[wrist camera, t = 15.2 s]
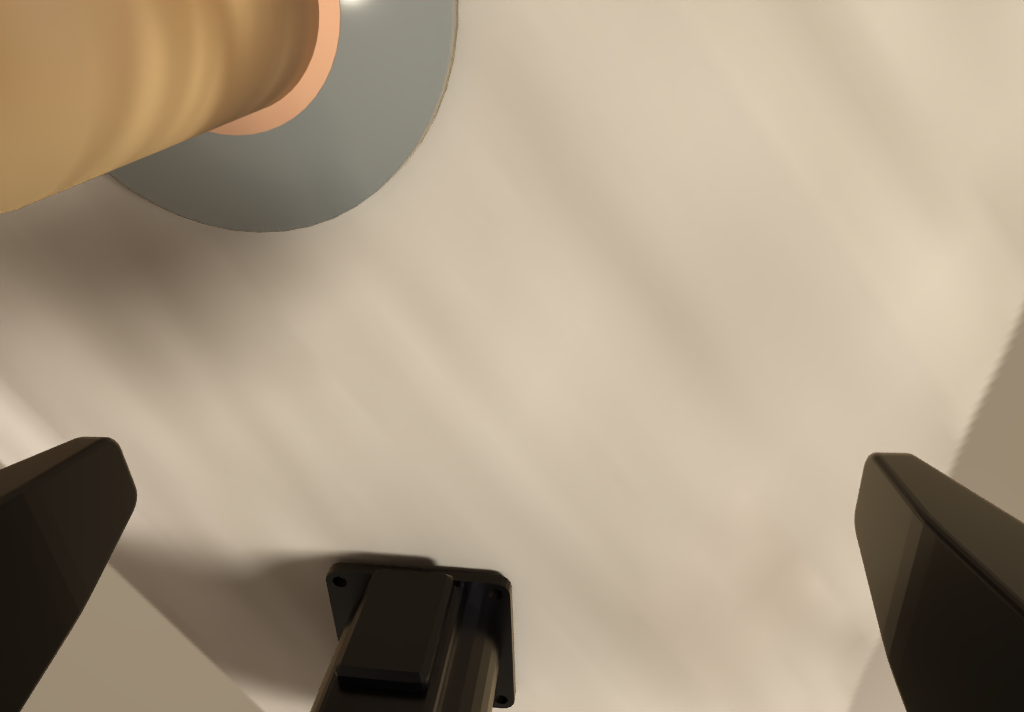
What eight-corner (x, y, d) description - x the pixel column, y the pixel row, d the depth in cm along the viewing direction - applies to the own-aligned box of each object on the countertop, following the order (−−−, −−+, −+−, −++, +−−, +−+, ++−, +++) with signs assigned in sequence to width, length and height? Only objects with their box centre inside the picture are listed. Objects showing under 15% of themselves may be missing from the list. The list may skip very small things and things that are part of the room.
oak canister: (334, 113, 17) (137, 218, 10) (138, 114, 18) (-176, 214, 11) (298, -143, 15) (5, -242, 8) (73, -131, 15) (-389, -212, 8)
